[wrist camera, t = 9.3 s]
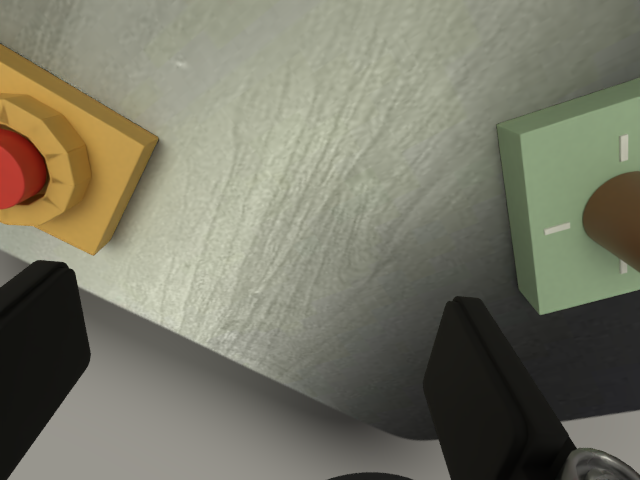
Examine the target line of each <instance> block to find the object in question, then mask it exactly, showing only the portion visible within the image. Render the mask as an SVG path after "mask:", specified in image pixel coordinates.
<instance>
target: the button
mask: <svg viewBox="0 0 640 480" xmlns="http://www.w3.org/2000/svg"><path fill="white" fill-rule="evenodd" d="M45 181H46V166H45V163H44V161H43V158H42V156H41V155H40V153H39V152H38V150H37V149H36V148H35V147H34V146H33V144H31V143H30V142H29V141H28V140H27V139H25V138H24V137H22V136H21V135H19V134H17V133H15V132H12V131H10V130H6V129H0V210H1V209H7V208H10V207H13V206H15V205H17V204H19V203H20V202H22V201H24V200H26V199H28V198H30V197H32V196H34V195H36V194H37V193H38V192H39V191H41V189H42V188H43V186H44V184H45Z"/></svg>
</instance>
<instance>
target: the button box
mask: <svg viewBox="0 0 640 480" xmlns="http://www.w3.org/2000/svg"><path fill="white" fill-rule="evenodd" d="M0 129H6V130H10V131H12V132H15V133H17V134H19V135H21V136H22V137H24V138H25V139H27V140H28V141H29V142H30V143H31V144H33V146H34V147H35V148H36V149H37V150H38V152H39V153H40V155H41V156H42V158H43V161H44V163H45V166H46V181H45V184H44V186H43V188H42V189H41V191H39V192H38V193H37V194H36V195H34V196H32V197H30V198H28V199H26V200H24V201H22V202H20V203H19V204H17V205H15V206H13V207H10V208H7V209H1V210H0V222H2V223H4V224H7V225H24V226H34V227H36V228H38V229H40V230H42V231H44V232H46V233H48V234H50V235H52V236H54V237H56V238H58V239H60V240H62V241H64V242H66V243H68V244H70V245H72V246H75V247H77V248H79V249H81V250H83V251H85V252H87V253H89V254H91V255H93V256H94V255H95V254H96V253H97V252H98V251H99V250H100V249H101V248H103V247H104V246H105V245H106V244H107V243H108V242H109V241H110V240H111V238H112V236H113V234H114V232H115V229H116V227H117V225H118V223H119V221H120V219H121V217H122V215H123V213H124V211H125V208H126V206H127V204H128V202H129V200H130V198H131V196H132V194H133V192H134V190H135V187H136V185H137V183H138V181H139V179H140V177H141V175H142V173H143V171H144V169H145V166H146V164H147V162H148V160H149V158H150V156H151V154H152V152H153V150H154V148H155V146H156V143H157V141H158V137H156V136H155V135H153V134H151V133H150V132H148V131H146V130H145V129H143V128H141V127H140V126H138V125H136V124H135V123H133V122H131V121H130V120H128V119H126V118H124V117H123V116H121V115H119V114H118V113H116V112H114V111H113V110H111V109H109V108H108V107H106V106H104V105H103V104H101V103H99V102H98V101H96V100H94V99H93V98H91V97H89V96H87V95H86V94H84V93H82V92H81V91H79V90H77V89H76V88H74V87H72V86H71V85H69V84H67V83H66V82H64V81H62V80H61V79H59V78H57V77H56V76H54V75H52V74H50V73H49V72H47V71H45V70H44V69H42V68H40V67H39V66H37V65H35V64H34V63H32V62H30V61H29V60H27V59H25V58H24V57H22V56H20V55H19V54H17V53H15V52H13V51H12V50H10V49H8V48H7V47H5V46H3V45H2V44H0Z"/></svg>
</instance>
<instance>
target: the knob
mask: <svg viewBox="0 0 640 480" xmlns="http://www.w3.org/2000/svg"><path fill="white" fill-rule="evenodd" d="M583 226H584V229H585V231H586V233H587V235H588V236H589V237H590V238H591V239H592V240H593V241H595V242H596V243H598V244H599V245H601V246H602V247H603V248H605V249H606V250H608V251H609V252H611V253H612V254H613V255H615V256H616V257H618V258H619V259H621V260H622V261H623V262H625V263H626V264H628V265H629V266H631V267H632V268H634V269H635V270H636V271H638V272H639V273H640V171H634V172H627V173H623V174H621V175H618V176H616V177H614V178H612V179H610V180H608V181H607V182H605V183H604V184H603V185H601V186H600V187H599V188H598V189H597V190H596V191H595V192H594V193H593V195H592V196H591V197H590V199H589V201H588V202H587V205H586V207H585V210H584V213H583Z"/></svg>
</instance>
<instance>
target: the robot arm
mask: <svg viewBox="0 0 640 480" xmlns="http://www.w3.org/2000/svg"><path fill="white" fill-rule="evenodd" d="M90 356H91V353H90V347H89V342H88V337H87V333H86V327H85V322H84V316H83V311H82V307H81V301H80V296H79V290H78V285H77V280H76V275H75V272H74V271H73V270H72V269H69V267H68V266H67V264H66V263H64V262H55V261H44V260H37V261H35V262H33V263H32V264H31V265H29V266H28V267H27V268H25V269H24V270H23V271H22V272H20V273H19V274H18V275H16V276H15V277H14V278H13V279H11V280H10V281H8V282H7V283H6V284H4V285H3V286H2V287H0V480H7V479H8V477H9V476H10V475H11V473H12V472H13V470H14V469H15V468H16V466H17V465H18V463H19V462H20V461H21V459H22V458H23V457H24V455H25V453H26V452H27V451H28V449H29V448H30V447H31V445H32V444H33V443H34V441H35V440H36V438H37V437H38V436H39V434H40V433H41V431H42V430H43V429H44V427H45V426H46V424H47V423H48V422H49V420H50V419H51V417H52V416H53V415H54V413H55V411H56V410H57V409H58V408H59V406H60V405H61V403H62V402H63V401H64V399H65V398H66V396H67V395H68V394H69V392H70V390H71V389H72V388H73V386H74V385H75V384H76V382H77V381H78V379H79V378H80V377H81V375H82V374H83V373H84V371H85V370H86V368H87V367H88V364H89V362H90ZM423 388H424V394H425V397H426V400H427V403H428V407H429V410H430V413H431V416H432V419H433V423H434V426H435V429H436V432H437V436H438V439H439V442H440V445H441V448H442V452H443V455H444V458H445V461H446V465H447V468H448V471H449V474H450V478H451V480H640V475H639V474H638V473H637V472H636V471H635V470H634V469H633V468H631V467H630V466H629V465H627V464H626V463H624V462H623V461H621V460H620V459H618V458H616V457H614V456H612V455H609V454H607V453H606V452H603V451H600V450H596V449H592V448H578V449H577V448H576V447H575V445H574V444H573V442H572V440H571V439H570V437H569V435H568V433H567V432H566V430H565V429H564V427H563V426H562V424H561V422H560V421H559V419H558V418H557V416H556V415H555V413H554V412H553V410H552V408H551V407H550V405H549V404H548V402H547V401H546V399H545V398H544V396H543V395H542V393H541V391H540V390H539V388H538V387H537V385H536V384H535V382H534V381H533V379H532V378H531V376H530V374H529V373H528V371H527V370H526V368H525V367H524V365H523V364H522V362H521V361H520V359H519V357H518V356H517V354H516V353H515V351H514V350H513V348H512V347H511V345H510V344H509V342H508V340H507V339H506V337H505V336H504V334H503V333H502V331H501V330H500V328H499V327H498V325H497V324H496V322H495V320H494V319H493V317H492V316H491V314H490V313H489V311H488V310H487V308H486V307H485V305H484V303H483V302H482V301H481V299H479V298H473V297H461V296H457V297H455V298H454V299H453V301H448V302H447V303H446V306H445V309H444V312H443V315H442V319H441V322H440V325H439V329H438V332H437V336H436V339H435V342H434V346H433V349H432V352H431V356H430V359H429V362H428V366H427V369H426V372H425V376H424V380H423Z"/></svg>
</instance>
